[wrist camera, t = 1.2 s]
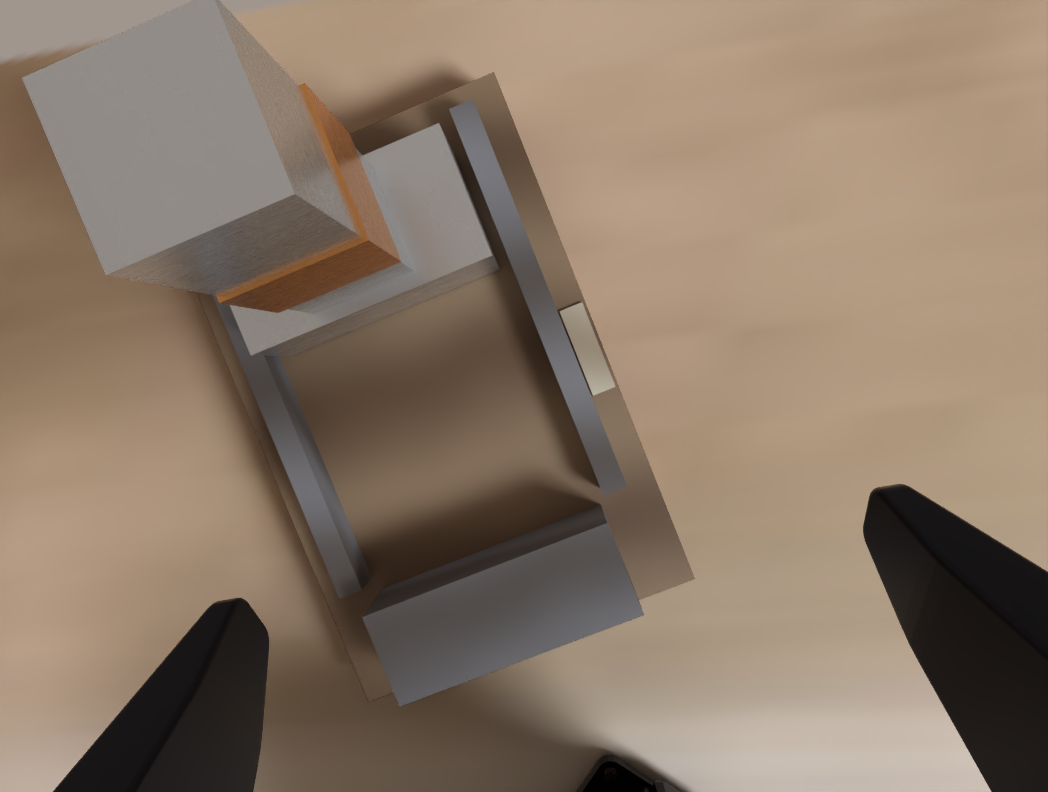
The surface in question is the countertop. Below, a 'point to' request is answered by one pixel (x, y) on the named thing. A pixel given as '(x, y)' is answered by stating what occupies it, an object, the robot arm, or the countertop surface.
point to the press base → (464, 446)
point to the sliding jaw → (251, 184)
